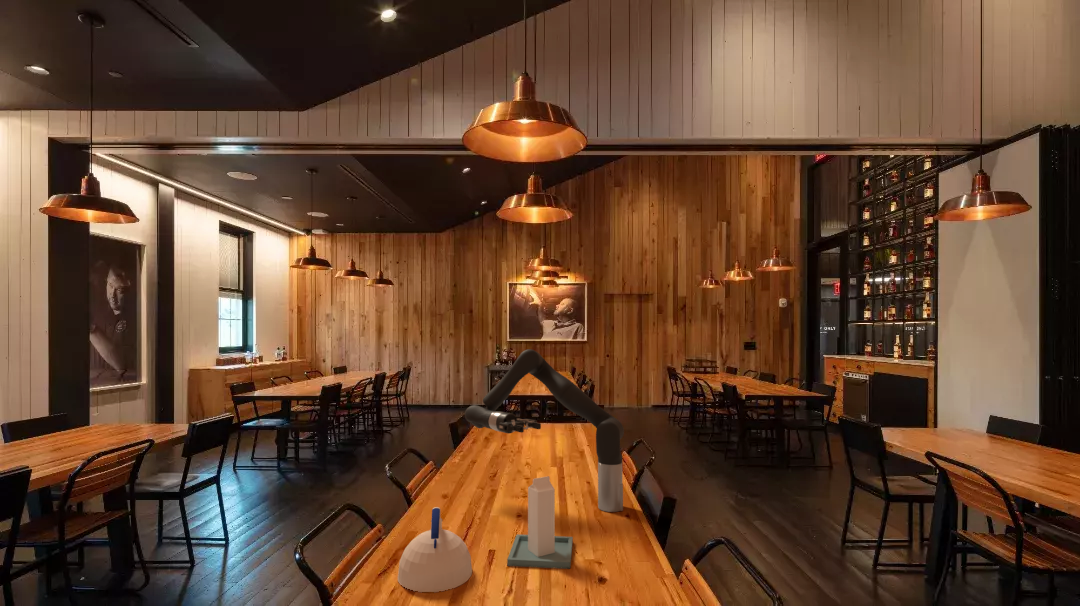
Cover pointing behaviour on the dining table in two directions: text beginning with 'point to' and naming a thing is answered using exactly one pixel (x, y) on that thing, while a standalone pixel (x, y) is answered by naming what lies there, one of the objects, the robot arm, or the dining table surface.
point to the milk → (541, 517)
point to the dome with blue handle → (435, 560)
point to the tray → (528, 559)
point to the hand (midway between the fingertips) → (531, 427)
